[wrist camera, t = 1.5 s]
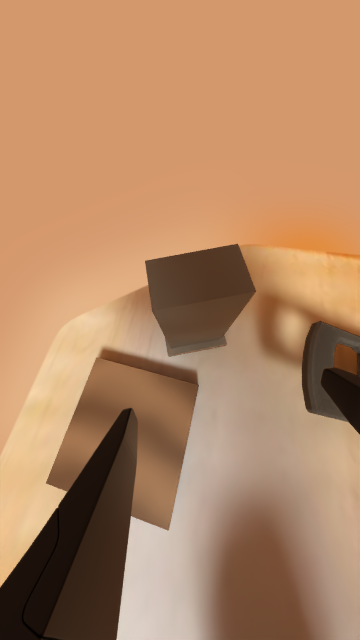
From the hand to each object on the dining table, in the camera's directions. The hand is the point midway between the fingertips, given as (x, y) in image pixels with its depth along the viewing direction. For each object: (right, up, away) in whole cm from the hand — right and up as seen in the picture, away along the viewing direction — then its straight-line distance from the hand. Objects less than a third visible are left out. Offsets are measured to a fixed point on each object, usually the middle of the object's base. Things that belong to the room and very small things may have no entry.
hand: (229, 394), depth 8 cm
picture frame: (-1, +2, +14) cm, 14 cm away
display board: (-8, -8, +11) cm, 16 cm away
